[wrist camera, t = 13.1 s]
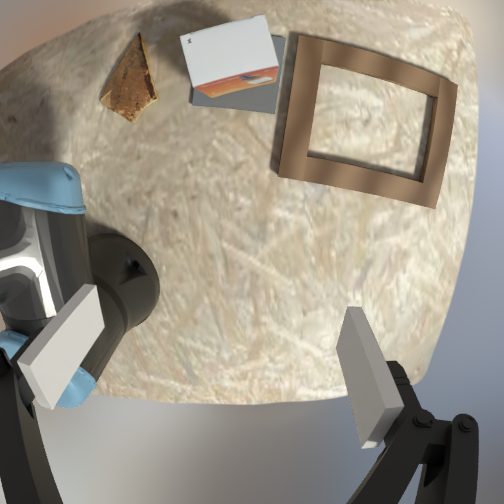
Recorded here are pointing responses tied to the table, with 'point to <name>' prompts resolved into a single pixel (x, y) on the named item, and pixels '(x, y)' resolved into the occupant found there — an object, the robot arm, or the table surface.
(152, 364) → the table surface
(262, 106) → the pad
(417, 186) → the wooden picture frame
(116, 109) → the shard
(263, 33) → the small box
